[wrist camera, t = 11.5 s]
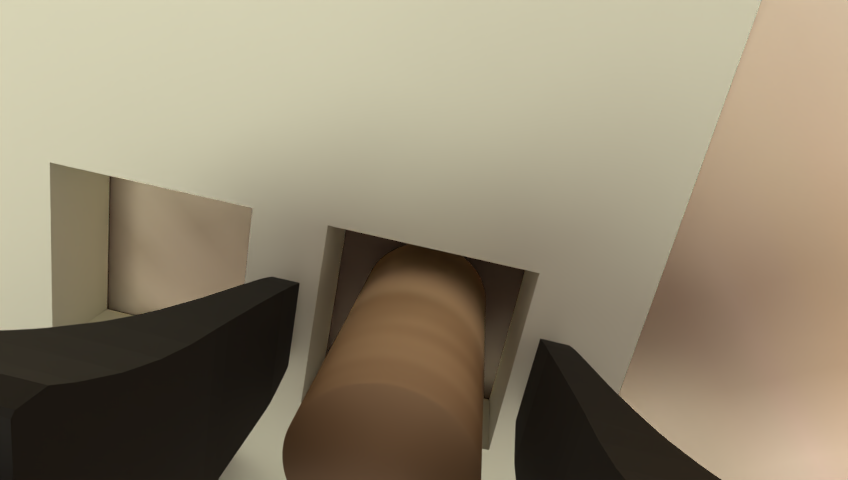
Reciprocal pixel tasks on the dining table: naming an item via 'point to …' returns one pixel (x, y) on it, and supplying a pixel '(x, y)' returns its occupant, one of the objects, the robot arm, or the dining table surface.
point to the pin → (399, 379)
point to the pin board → (370, 155)
